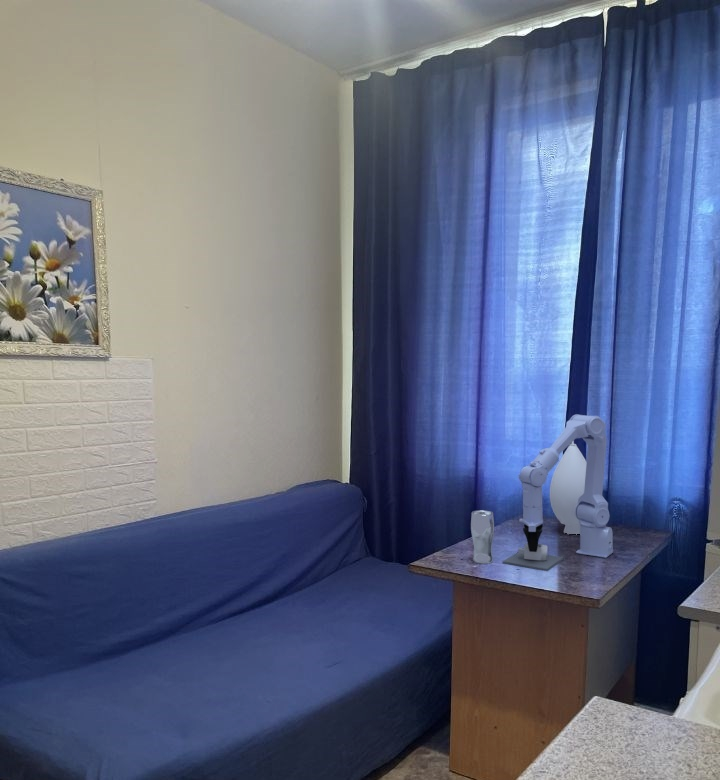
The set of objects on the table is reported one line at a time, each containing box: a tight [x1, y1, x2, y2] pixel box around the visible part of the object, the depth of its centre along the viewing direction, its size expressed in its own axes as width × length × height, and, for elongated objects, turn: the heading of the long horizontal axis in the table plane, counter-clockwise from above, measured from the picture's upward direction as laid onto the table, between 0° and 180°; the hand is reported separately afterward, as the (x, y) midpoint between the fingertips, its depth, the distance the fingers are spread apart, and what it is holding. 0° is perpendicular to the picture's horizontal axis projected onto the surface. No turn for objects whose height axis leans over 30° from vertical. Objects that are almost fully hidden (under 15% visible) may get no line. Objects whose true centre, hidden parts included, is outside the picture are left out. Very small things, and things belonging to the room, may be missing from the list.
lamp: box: [549, 440, 591, 536], centre depth 230 cm, size 16×16×35 cm
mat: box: [501, 551, 565, 572], centre depth 197 cm, size 14×14×1 cm
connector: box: [517, 542, 548, 561], centre depth 197 cm, size 8×4×4 cm, turn 73°
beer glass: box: [470, 509, 495, 565], centre depth 198 cm, size 7×7×15 cm
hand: (533, 549), depth 197 cm, fingers closed on connector, 3 cm apart
